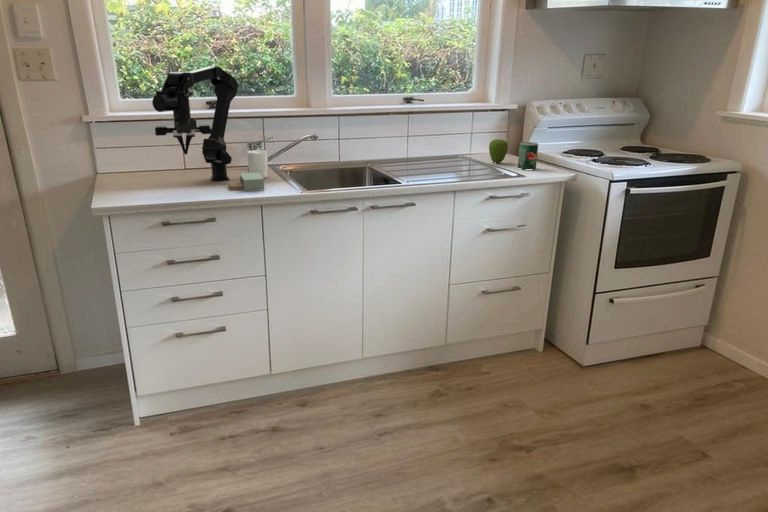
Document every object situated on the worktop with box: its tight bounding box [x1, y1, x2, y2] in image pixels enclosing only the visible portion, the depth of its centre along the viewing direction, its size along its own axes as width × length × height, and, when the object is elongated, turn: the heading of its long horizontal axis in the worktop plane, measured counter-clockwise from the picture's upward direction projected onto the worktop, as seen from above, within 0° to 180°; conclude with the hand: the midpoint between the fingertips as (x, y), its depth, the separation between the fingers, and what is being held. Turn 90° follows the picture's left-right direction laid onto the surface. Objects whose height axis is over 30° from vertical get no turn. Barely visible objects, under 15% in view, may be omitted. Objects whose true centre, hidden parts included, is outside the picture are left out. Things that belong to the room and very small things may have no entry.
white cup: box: [246, 149, 269, 179], centre depth 232 cm, size 8×8×10 cm
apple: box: [488, 138, 509, 164], centre depth 266 cm, size 9×8×12 cm
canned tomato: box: [517, 141, 539, 170], centre depth 255 cm, size 8×8×11 cm
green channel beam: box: [239, 172, 265, 192], centre depth 215 cm, size 12×7×4 cm, turn 20°
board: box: [228, 181, 244, 191], centre depth 215 cm, size 7×10×2 cm
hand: (185, 154), depth 210 cm, fingers closed
